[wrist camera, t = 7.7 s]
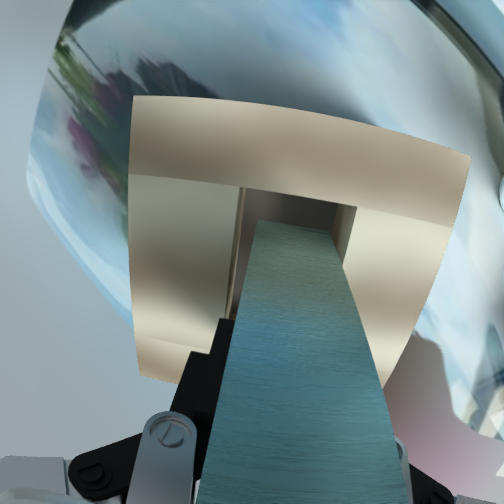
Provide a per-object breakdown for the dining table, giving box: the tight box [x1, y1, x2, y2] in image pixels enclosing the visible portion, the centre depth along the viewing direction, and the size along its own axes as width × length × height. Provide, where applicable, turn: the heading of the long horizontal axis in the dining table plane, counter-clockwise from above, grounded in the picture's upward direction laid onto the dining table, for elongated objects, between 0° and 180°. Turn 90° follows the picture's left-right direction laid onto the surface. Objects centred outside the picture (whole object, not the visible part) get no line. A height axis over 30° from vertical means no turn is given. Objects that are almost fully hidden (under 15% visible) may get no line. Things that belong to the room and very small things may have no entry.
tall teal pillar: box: [195, 220, 409, 504], centre depth 9 cm, size 7×3×12 cm, turn 173°
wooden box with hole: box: [128, 96, 471, 389], centre depth 21 cm, size 16×15×14 cm
